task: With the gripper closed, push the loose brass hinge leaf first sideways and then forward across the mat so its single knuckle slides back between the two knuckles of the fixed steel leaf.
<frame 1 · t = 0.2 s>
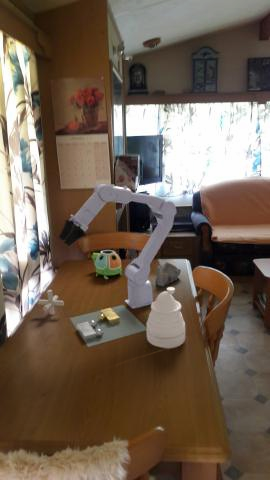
hand: (63, 241, 126), 31 cm above the table, tool tilted 45°, fingers open, 7 cm apart
pipe connector: (52, 314, 139), on the table
honey pot: (165, 338, 120), on the table
brass leaf: (101, 320, 132), resting on mat
steel leaf: (95, 331, 125), resting on mat
mat: (107, 324, 130), on the table
turtle holder: (106, 274, 178), on the table
mineral rock: (169, 282, 165), on the table
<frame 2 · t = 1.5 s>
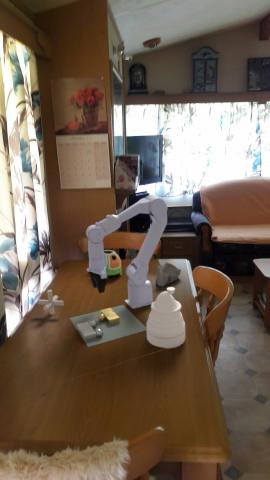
hand: (98, 289, 139), 8 cm above the table, tool pointing down, fingers open, 5 cm apart
nothing on the table moved.
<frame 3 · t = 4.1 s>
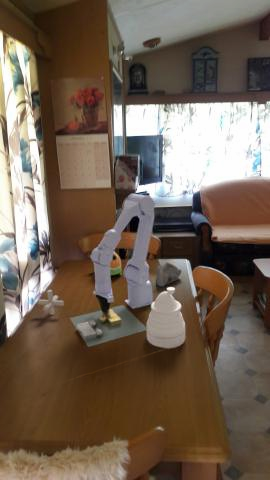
hand: (105, 312, 136), 1 cm above the table, tool pointing down, fingers closed
brass leaf: (103, 322, 131), resting on mat, touching gripper
everything else where it was.
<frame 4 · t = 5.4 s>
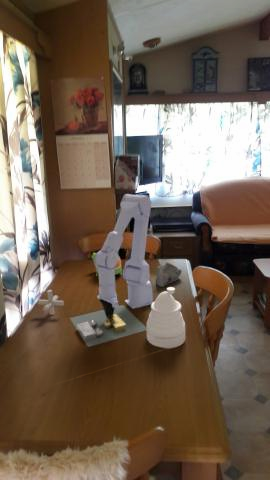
hand: (109, 317, 133), 1 cm above the table, tool pointing down, fingers closed
brass leaf: (107, 327, 127), resting on mat, touching gripper
everything else where it was.
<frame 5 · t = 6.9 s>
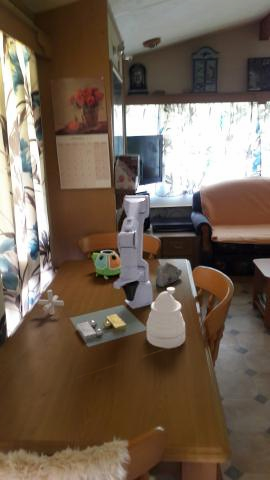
hand: (130, 300, 129), 8 cm above the table, tool pointing down, fingers closed
brass leaf: (107, 327, 127), resting on mat
everything else where it was.
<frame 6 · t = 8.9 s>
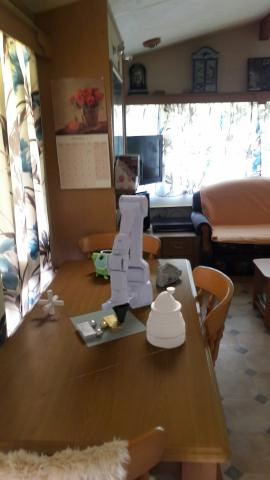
hand: (121, 322, 129), 1 cm above the table, tool pointing down, fingers closed
brass leaf: (104, 328, 126), resting on mat, touching gripper
everything else where it was.
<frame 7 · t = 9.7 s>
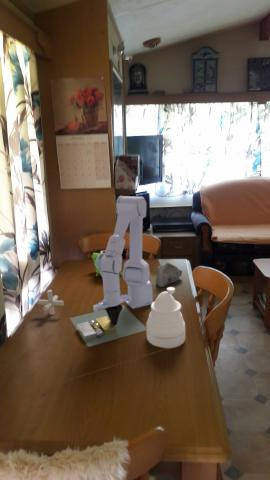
hand: (114, 324, 128), 1 cm above the table, tool pointing down, fingers closed
brass leaf: (96, 330, 126), resting on mat, touching gripper
everything else where it was.
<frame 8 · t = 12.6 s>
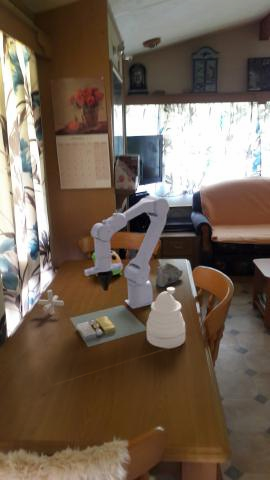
hand: (105, 289, 135), 10 cm above the table, tool pointing down, fingers closed
brass leaf: (96, 330, 126), resting on mat
at the end: brass leaf 0.5 cm from the target spot, resting on mat; brass leaf tilted 0°; brass leaf touching mat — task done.
